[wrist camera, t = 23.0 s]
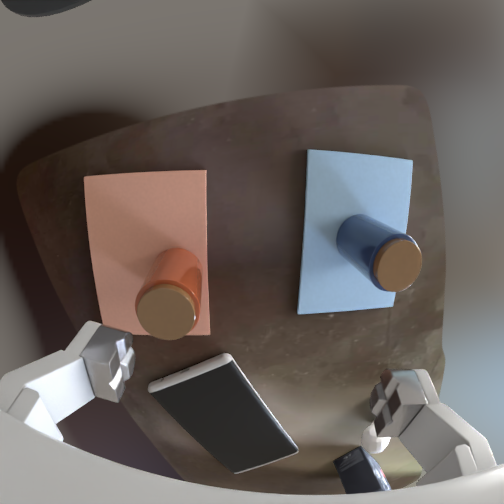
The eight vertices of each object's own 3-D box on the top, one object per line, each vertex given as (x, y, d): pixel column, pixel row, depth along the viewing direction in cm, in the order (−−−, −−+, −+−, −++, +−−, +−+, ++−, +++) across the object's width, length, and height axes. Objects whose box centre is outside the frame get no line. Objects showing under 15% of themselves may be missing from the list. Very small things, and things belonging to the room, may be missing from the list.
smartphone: (228, 348, 40) (229, 356, 39) (298, 446, 49) (300, 453, 47) (146, 381, 41) (144, 389, 39) (233, 468, 50) (234, 475, 48)
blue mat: (307, 149, 34) (308, 149, 33) (410, 160, 35) (412, 160, 35) (296, 312, 40) (297, 314, 39) (391, 304, 41) (392, 306, 41)
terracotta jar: (149, 248, 34) (127, 284, 25) (202, 247, 35) (198, 283, 26) (154, 296, 36) (137, 343, 27) (204, 296, 37) (201, 344, 28)
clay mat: (85, 176, 31) (83, 176, 31) (206, 170, 33) (205, 170, 33) (106, 331, 38) (105, 333, 37) (210, 332, 39) (210, 335, 39)
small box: (379, 463, 56) (398, 500, 45) (354, 477, 56) (369, 515, 45) (361, 444, 52) (382, 488, 40) (332, 460, 52) (348, 505, 41)
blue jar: (338, 213, 36) (378, 236, 26) (382, 214, 36) (429, 236, 27) (333, 262, 38) (369, 298, 28) (376, 260, 38) (418, 293, 29)
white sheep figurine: (404, 368, 50) (344, 418, 44) (439, 387, 42) (380, 445, 37) (402, 397, 53) (347, 444, 47) (433, 416, 45) (378, 469, 40)
